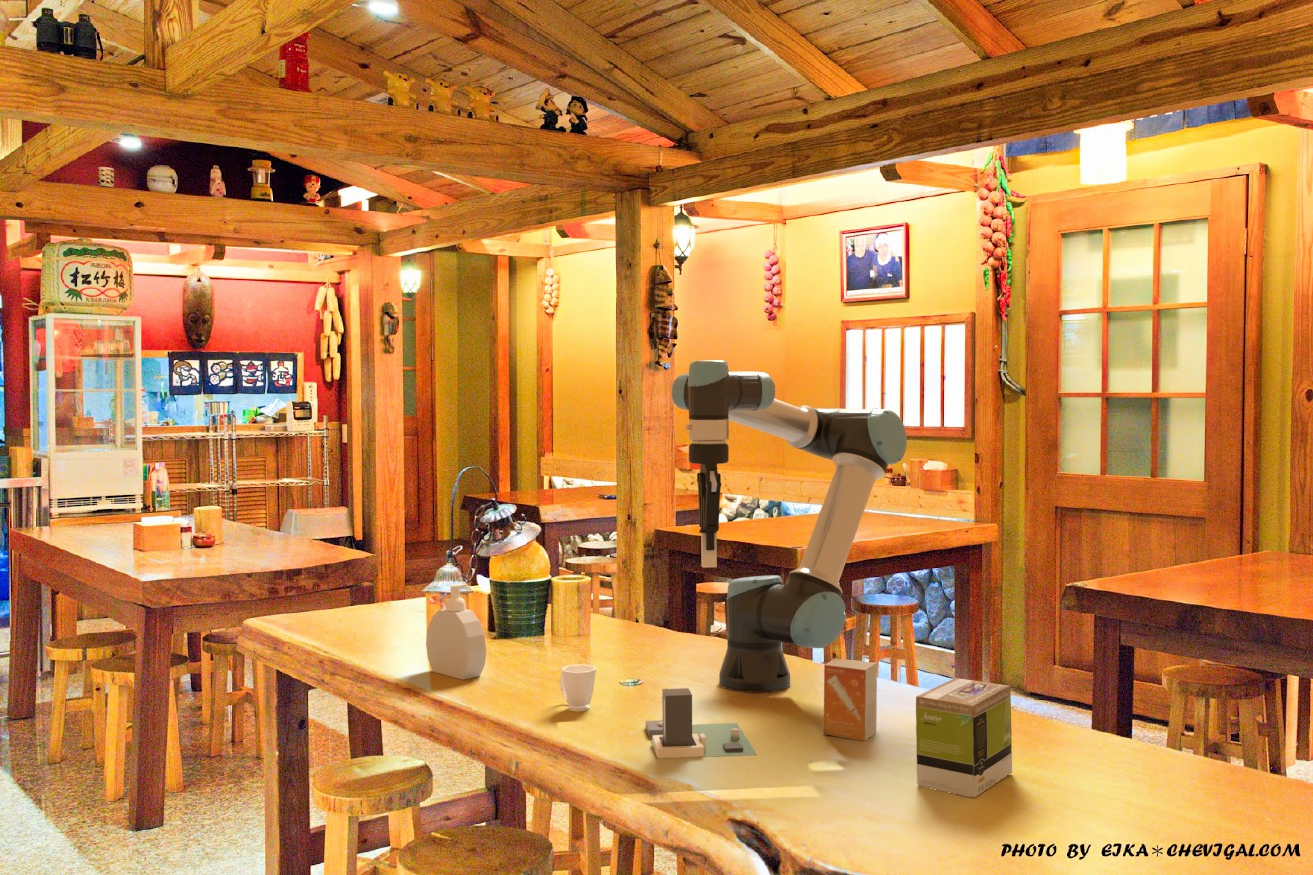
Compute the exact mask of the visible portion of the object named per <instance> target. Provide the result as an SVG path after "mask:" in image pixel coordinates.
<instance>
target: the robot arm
mask: <svg viewBox="0 0 1313 875" xmlns="http://www.w3.org/2000/svg"><path fill="white" fill-rule="evenodd" d="M689 364H690V365H689V367H688V373H683V374H680V375H678V376H677V377H676V378H675V379H674V380H673V383H672V386H671V391H670V392H671V398H672V401H673V403H674V404H675V406H676V407H677V408H679V409H681V410H685V411H688V419H689V420H688V423H689V424H686V425H685V430H687V431H688V440H689V441H691V442H692V443H689V445H688V461H689V463H690V464H695V465H697V464H698V465H699V464H700V466H699V472H697V473H696V482H697V489H698V490H697V492H698V514H699V517H698V519H699V523H698V526H699V528H700V529H698V530H699V534H700V535H701V536H700V537H701V544H700V546H701V550H700V551H701V552H700V553H701V560H700V561H701V567H702V568H704V569H705V568H718V565H717V564H718V563H717V562H718V559H717V558H718V551H717V550H718V542H717V540H718V538H717V537H718V536H717V535H718V534H717V532H719V529H720V526H719V525H720V501H721V489H722V488H721V486H722V482H721V481H722V478H721V477H722V476H721V473H719V472H718V465H719V464H720V465H721V464H722V465H723V464H726V463H729V460H730V459H729V456H730V454H729V447H730V446H729V445H728V443H727V441H728V440H729V438H730V436H729V435H730V431H729V430H730V425H729V424H730V422H732V423H735V424H739V425H741V426H745V427H747V428H751V429H753V430H756V431H759V432H763V433H765V434H767V435H768V434H769V435H772V436H773V437H777V438H780V439H783V440H785V441H786V443H787V444H788V445H789V446H790V447H792V448H796V449H799V450H801V451H804V452H806V453H809V454H812V455H814V456H817V457H820V458H822V459H823V458H824V459H827V460H829V461H833V464H834V466H835V470H834V473H833V475H832V478H831V482H830V484H829V486H828V490H827V492H826V495H825V497H824V500H823V503H822V506H821V508H820V511H819V514H818V516H817V518H816V520H815V521H816V522H815V524H814V527H813V530H812V533H811V535H810V538H809V541H808V543H807V546H806V548H805V551H804V553H803V556H802V559H801V562H800V565H799V567H798V568H796V569H794V570H791V571H789V574H788V575H787V579H786V580H785V584H784V582H783V580H782V579H783V578H782V576H780V575H776V574H774V575H772V574H771V575H758V576H757V575H756V576H747V577H745V576H744V577H739V578H735V579H732V580H730V582H729V583H728V585H727V594H726V596H727V597H726V598H725V599H726V622H727V623H726V626H727V627H726V633H727V647H726V648H727V649H726V652H725V654H724V657H723V661H722V664H721V668H720V670H719V678H718V679H719V681H718V682H719V685H720V686H721V687H722V688H725V689H727V690H730V691H731V690H732V691H735V692H742V693H743V692H745V693H769V692H778V691H783V690H785V689H787V688H788V687H790V686H791V673H790V670H789V666H788V663H787V661H786V657H785V654H784V651H783V643H786V644H790V645H796V646H798V647H800V648H809V649H810V648H813V649H823V648H825V647H827V646H829V645H831V644H832V643H834V642H835V641H836V640H837V638H839V636H840V634H842V632H843V628H844V627H845V623H846V619H847V614H846V613H845V611H846V610H847V609H846V604H845V602H844V600H843V598H842V596H843V590H842V587H841V586H840V583H839V582H840V579H841V576H842V574H843V570H844V568H845V565H846V562H847V560H848V557H849V553H850V551H851V547H852V546H853V544H854V540H855V538H856V534H857V532H858V530H859V526H860V525H861V524H860V523H861V521H862V517H863V516H864V515H863V514H864V512H865V510H866V506H867V503H868V502H869V498H870V495H871V493H872V490H873V486H874V484H875V482H876V481H879V480H881V479H883V478H884V477H885V475H886V472H887V470H888V466H889V465H895V464H897V463H899V462H900V461H902V460H903V458H904V456H905V454H906V451H907V446H908V445H907V443H908V442H907V432H906V429H905V428H906V427H905V425H904V423H903V421H902V419H901V417H900V416H899V415H898V414H897V413H896V412H894V411H893V410H890V409H883V408H878V407H873V408H816V407H812V406H809V405H799V406H796V405H793V404H789V403H788V402H784V401H782V400H779V399H777V398H775V397H776V384H775V381H774V380H773V378H772V377H771V375H769V374H768V373H766V372H762V371H761V372H760V371H756V370H754V371H730V370H729V363H728V361H725V360H709V359H708V360H694V361H692V362H690V363H689Z"/></svg>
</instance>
